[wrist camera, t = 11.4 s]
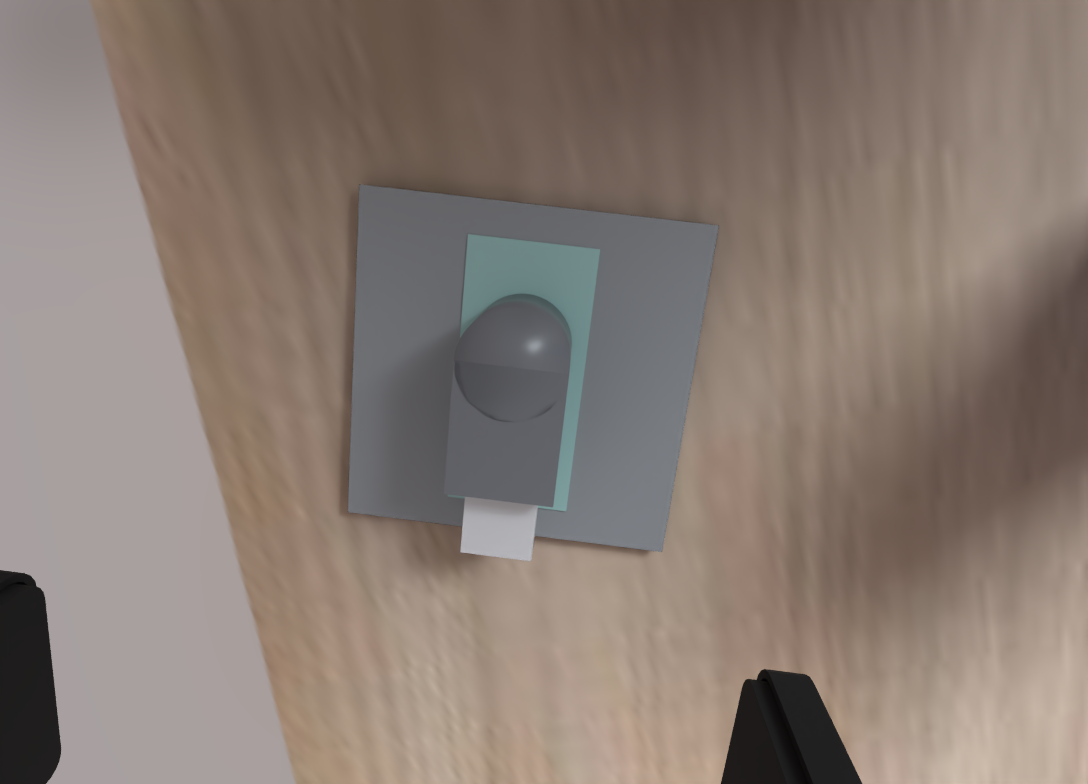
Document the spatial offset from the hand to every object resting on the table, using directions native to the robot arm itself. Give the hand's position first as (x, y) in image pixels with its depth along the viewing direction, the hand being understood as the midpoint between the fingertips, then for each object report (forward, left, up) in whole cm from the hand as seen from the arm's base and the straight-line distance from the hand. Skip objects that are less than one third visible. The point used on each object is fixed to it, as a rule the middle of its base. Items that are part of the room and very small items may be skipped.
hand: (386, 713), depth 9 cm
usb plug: (0, +1, -19) cm, 19 cm away
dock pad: (0, 0, -20) cm, 20 cm away
